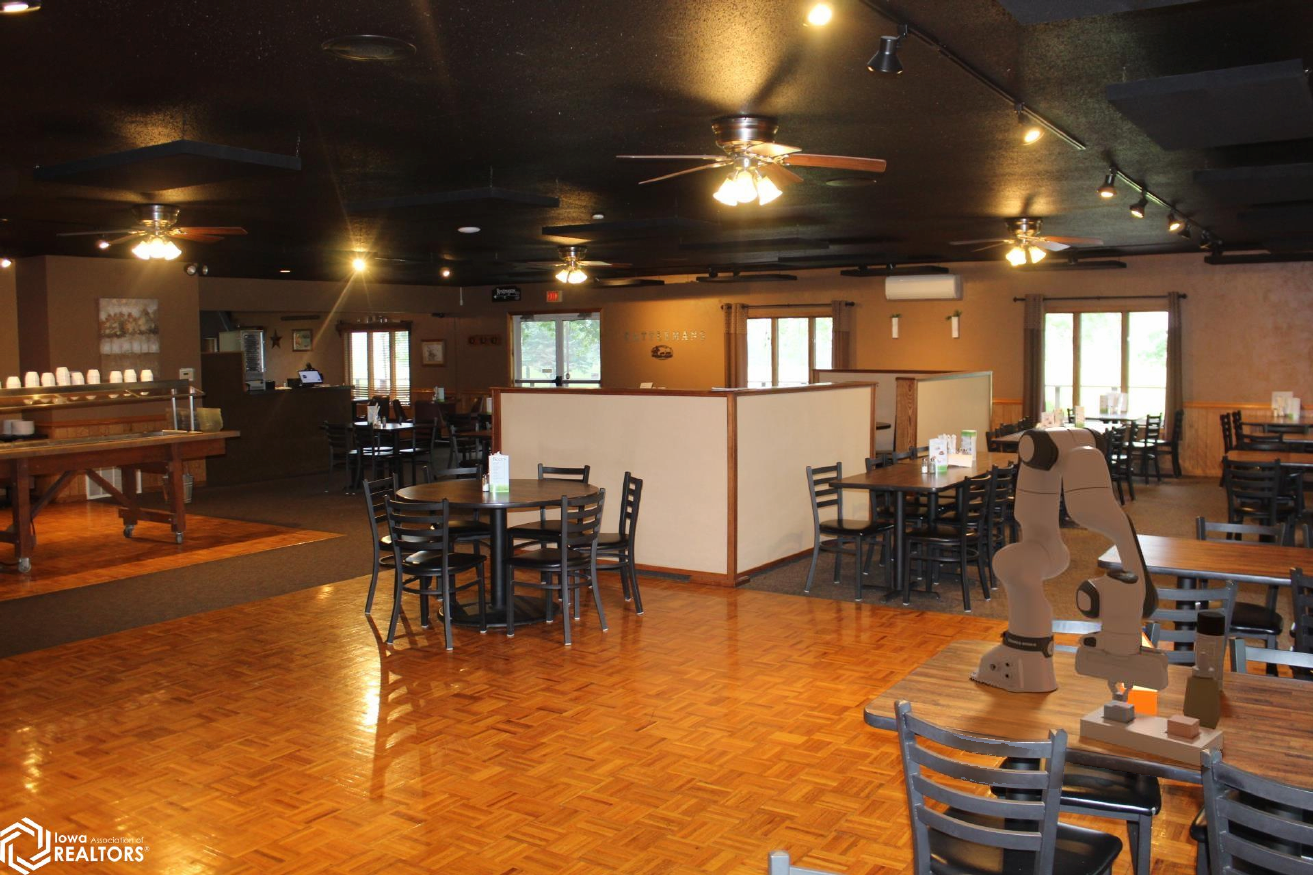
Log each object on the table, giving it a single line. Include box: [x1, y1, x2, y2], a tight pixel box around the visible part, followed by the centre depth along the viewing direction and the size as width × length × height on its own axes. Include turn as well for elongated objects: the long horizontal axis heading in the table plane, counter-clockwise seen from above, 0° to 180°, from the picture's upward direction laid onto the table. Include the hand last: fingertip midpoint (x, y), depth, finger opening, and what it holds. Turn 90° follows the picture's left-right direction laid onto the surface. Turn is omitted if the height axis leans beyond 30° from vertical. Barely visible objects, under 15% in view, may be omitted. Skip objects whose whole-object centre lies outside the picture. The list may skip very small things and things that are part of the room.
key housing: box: [1079, 705, 1224, 767], centre depth 236 cm, size 26×14×4 cm, turn 44°
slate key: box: [1103, 699, 1135, 724], centre depth 241 cm, size 5×5×4 cm
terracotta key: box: [1166, 713, 1199, 740], centre depth 231 cm, size 5×5×4 cm
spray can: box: [1194, 611, 1226, 692], centre depth 274 cm, size 7×7×20 cm
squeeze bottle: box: [1182, 652, 1222, 730], centre depth 244 cm, size 8×8×18 cm
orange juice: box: [1120, 632, 1158, 716], centre depth 259 cm, size 8×9×20 cm
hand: (1120, 700), depth 240 cm, fingers closed
